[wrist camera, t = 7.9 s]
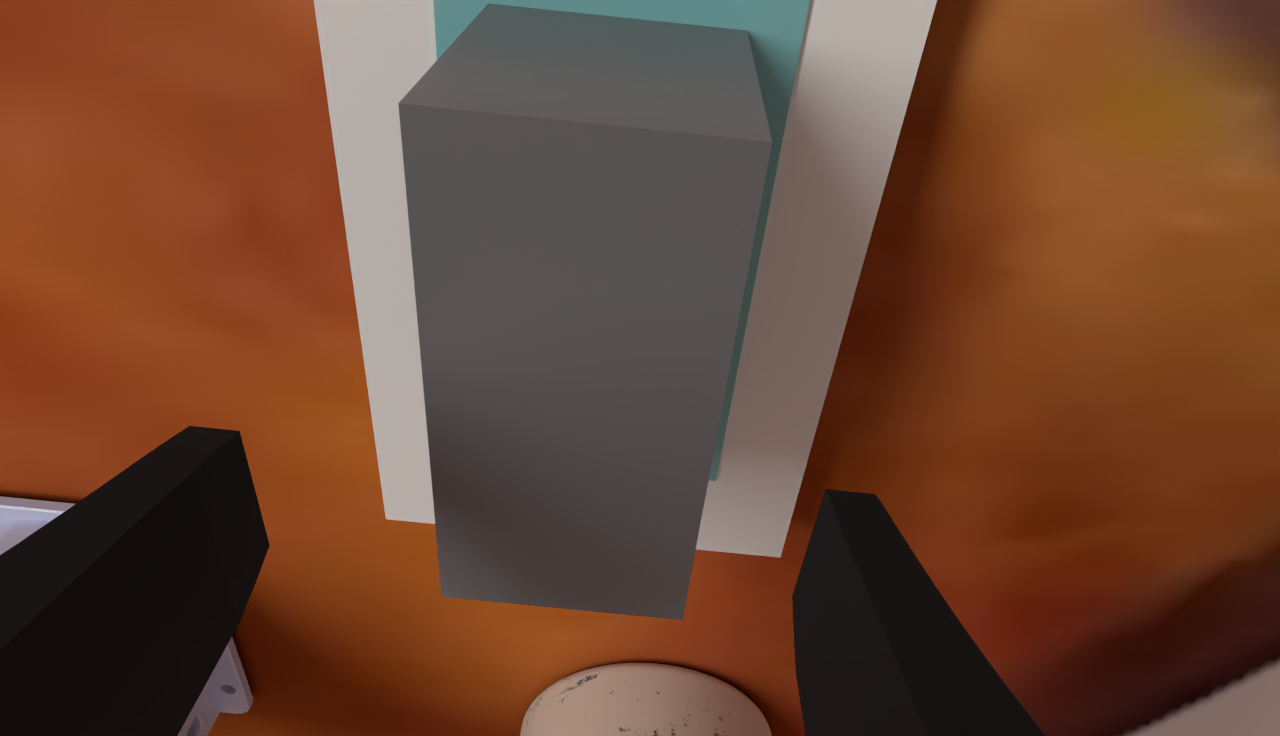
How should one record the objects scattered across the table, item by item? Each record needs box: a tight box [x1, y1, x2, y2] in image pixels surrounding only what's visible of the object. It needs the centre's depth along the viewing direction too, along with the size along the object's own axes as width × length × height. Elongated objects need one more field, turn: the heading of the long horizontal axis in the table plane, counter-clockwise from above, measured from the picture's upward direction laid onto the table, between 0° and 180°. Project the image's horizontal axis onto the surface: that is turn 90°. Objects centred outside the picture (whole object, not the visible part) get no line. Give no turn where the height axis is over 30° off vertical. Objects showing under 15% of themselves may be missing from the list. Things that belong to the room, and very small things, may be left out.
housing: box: [398, 3, 772, 620], centre depth 14 cm, size 9×4×5 cm, turn 175°
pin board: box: [314, 0, 937, 557], centre depth 15 cm, size 16×10×5 cm, turn 175°
